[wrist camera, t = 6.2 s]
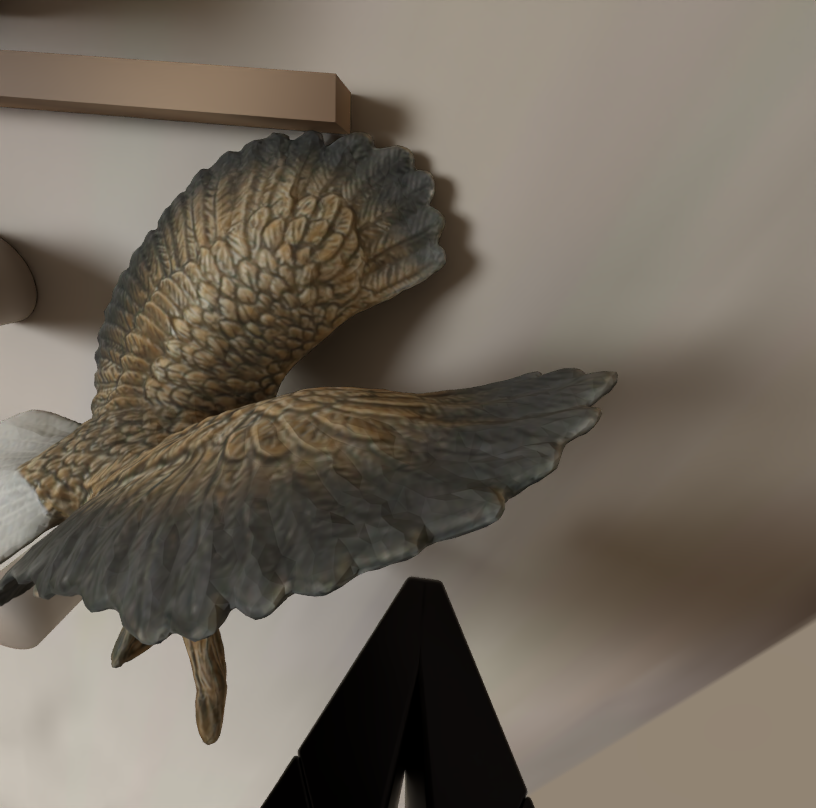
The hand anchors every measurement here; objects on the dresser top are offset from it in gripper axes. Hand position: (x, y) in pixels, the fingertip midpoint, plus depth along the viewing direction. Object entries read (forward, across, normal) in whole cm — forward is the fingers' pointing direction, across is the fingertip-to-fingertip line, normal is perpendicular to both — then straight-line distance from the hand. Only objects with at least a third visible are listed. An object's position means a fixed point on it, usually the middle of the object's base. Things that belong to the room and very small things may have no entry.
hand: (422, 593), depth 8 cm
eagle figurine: (+3, +3, -3) cm, 5 cm away
